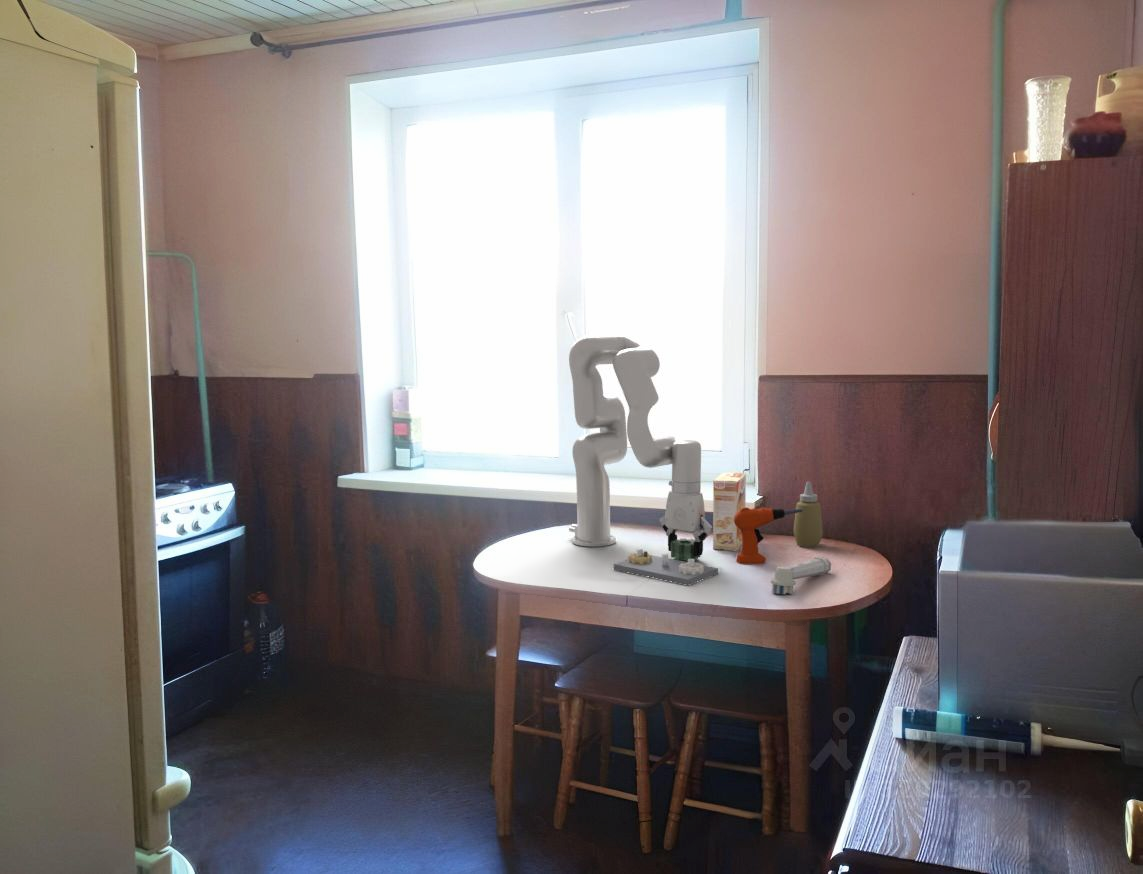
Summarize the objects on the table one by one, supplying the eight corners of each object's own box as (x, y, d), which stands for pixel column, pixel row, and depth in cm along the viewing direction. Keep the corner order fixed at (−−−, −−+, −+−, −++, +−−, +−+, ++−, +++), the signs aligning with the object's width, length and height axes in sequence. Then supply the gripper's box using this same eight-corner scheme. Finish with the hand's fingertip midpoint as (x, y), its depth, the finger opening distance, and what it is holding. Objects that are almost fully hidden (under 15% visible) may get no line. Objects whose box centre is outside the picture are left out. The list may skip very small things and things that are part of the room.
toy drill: (810, 557, 230) (804, 501, 228) (739, 567, 230) (731, 511, 228) (805, 552, 235) (798, 497, 233) (735, 562, 235) (728, 507, 233)
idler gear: (665, 557, 235) (665, 542, 234) (681, 551, 240) (681, 537, 240) (688, 562, 230) (688, 547, 229) (704, 556, 235) (705, 541, 235)
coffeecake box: (737, 551, 244) (737, 481, 241) (712, 549, 246) (711, 480, 244) (746, 538, 258) (746, 472, 255) (722, 537, 260) (722, 471, 258)
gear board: (613, 569, 227) (613, 552, 227) (644, 559, 237) (644, 543, 236) (688, 585, 212) (687, 567, 211) (717, 574, 221) (717, 556, 221)
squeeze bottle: (791, 547, 247) (791, 483, 244) (795, 541, 254) (795, 479, 252) (821, 549, 243) (822, 485, 241) (824, 543, 251) (825, 480, 249)
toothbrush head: (834, 558, 220) (789, 566, 201) (832, 585, 220) (786, 595, 201) (814, 555, 223) (768, 562, 204) (812, 581, 223) (765, 591, 204)
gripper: (650, 485, 236) (650, 549, 238) (705, 493, 224) (704, 561, 226) (667, 481, 241) (666, 544, 244) (722, 489, 230) (720, 555, 232)
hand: (685, 552), depth 235 cm, fingers closed on idler gear, 7 cm apart
